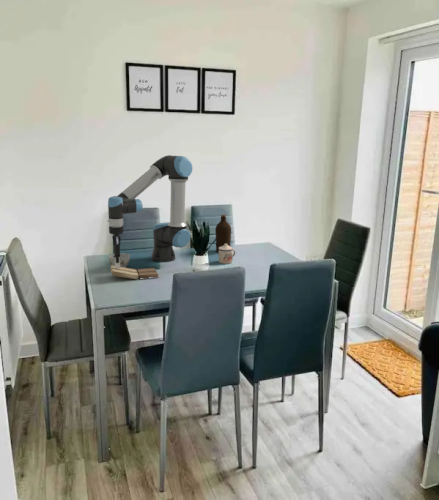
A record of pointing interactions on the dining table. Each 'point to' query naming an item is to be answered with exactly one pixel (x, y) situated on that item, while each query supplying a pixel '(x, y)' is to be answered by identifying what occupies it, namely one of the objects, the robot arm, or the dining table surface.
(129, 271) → the oak plank
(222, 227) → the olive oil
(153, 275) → the walnut floor section
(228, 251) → the teacup with lid
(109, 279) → the dining table surface
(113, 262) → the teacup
